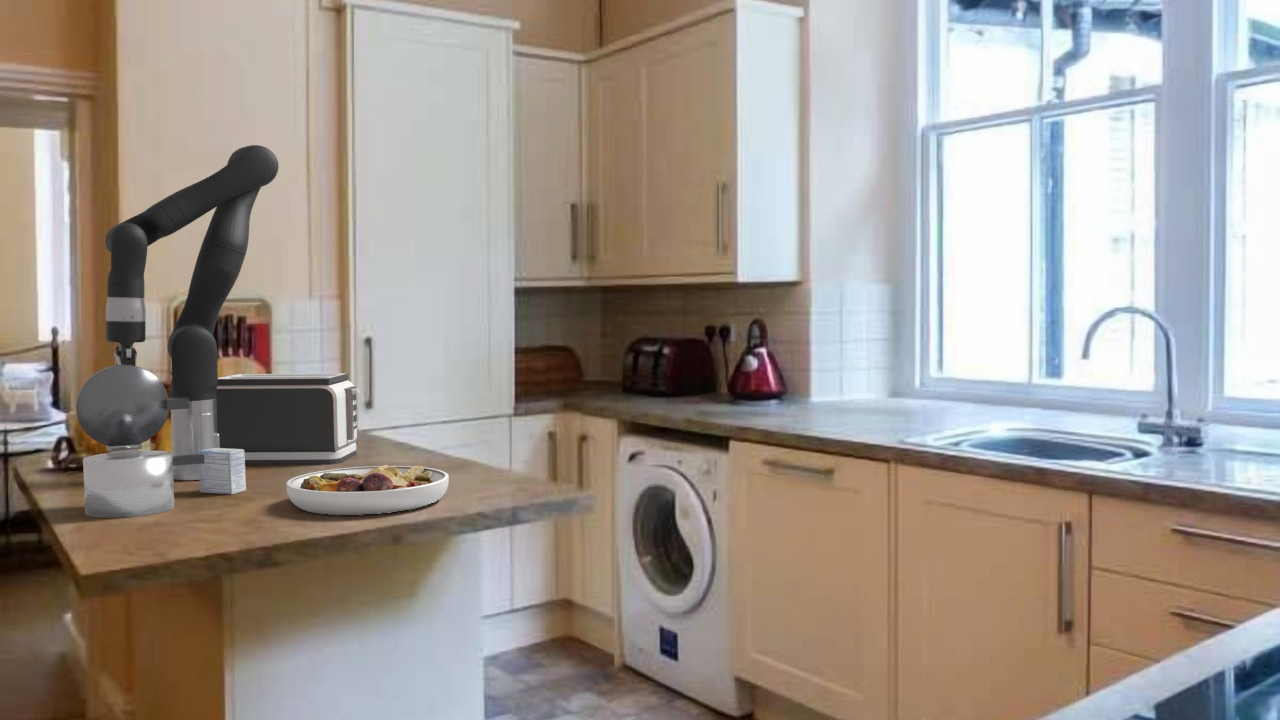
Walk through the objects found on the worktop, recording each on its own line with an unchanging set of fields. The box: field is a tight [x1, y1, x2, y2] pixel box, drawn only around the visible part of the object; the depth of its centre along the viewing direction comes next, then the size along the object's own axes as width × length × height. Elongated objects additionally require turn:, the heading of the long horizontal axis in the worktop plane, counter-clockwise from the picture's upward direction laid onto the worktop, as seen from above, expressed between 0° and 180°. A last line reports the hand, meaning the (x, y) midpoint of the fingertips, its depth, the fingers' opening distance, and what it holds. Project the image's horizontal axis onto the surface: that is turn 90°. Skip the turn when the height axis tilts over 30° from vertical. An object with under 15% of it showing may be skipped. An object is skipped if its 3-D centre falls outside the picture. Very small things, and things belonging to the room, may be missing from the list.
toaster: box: [216, 372, 360, 466], centre depth 261 cm, size 19×35×20 cm, turn 90°
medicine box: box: [199, 448, 247, 495], centre depth 217 cm, size 8×4×9 cm, turn 71°
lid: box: [75, 364, 189, 452], centre depth 205 cm, size 20×17×3 cm
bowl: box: [286, 464, 450, 516], centre depth 205 cm, size 30×30×8 cm
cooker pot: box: [82, 449, 204, 519], centre depth 201 cm, size 20×17×10 cm
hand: (125, 396), depth 225 cm, fingers open, 8 cm apart
